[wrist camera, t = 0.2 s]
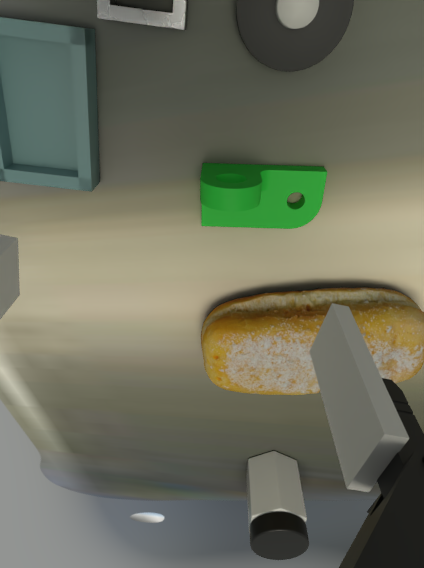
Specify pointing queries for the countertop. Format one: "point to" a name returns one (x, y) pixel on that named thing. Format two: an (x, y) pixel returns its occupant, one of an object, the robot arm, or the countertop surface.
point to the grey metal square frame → (145, 14)
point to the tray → (48, 105)
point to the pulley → (292, 30)
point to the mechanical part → (260, 195)
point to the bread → (306, 337)
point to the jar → (276, 507)
